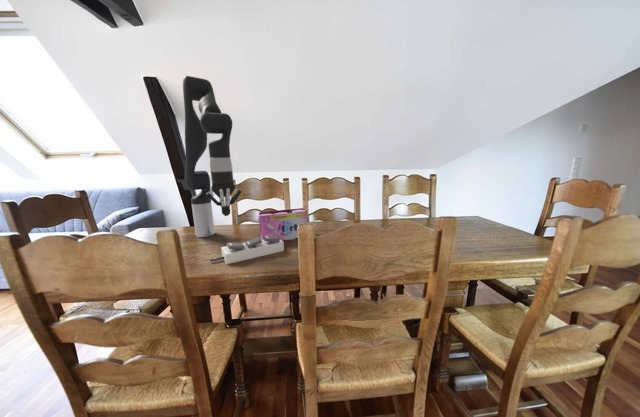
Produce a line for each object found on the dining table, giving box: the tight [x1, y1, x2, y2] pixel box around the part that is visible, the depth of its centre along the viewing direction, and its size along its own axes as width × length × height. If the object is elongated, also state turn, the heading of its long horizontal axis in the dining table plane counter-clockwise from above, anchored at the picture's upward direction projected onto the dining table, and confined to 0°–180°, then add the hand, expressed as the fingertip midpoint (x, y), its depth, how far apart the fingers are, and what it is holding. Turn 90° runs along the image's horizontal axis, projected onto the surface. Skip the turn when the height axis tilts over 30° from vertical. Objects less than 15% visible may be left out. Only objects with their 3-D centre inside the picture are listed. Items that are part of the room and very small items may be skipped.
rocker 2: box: [244, 236, 262, 248], centre depth 105 cm, size 5×6×1 cm
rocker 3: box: [263, 236, 280, 242], centre depth 109 cm, size 5×6×1 cm
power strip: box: [209, 238, 285, 265], centre depth 106 cm, size 9×29×5 cm, turn 121°
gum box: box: [257, 207, 309, 242], centre depth 125 cm, size 24×8×14 cm, turn 110°
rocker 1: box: [226, 242, 245, 249], centre depth 101 cm, size 5×6×1 cm
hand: (226, 215), depth 97 cm, fingers closed
